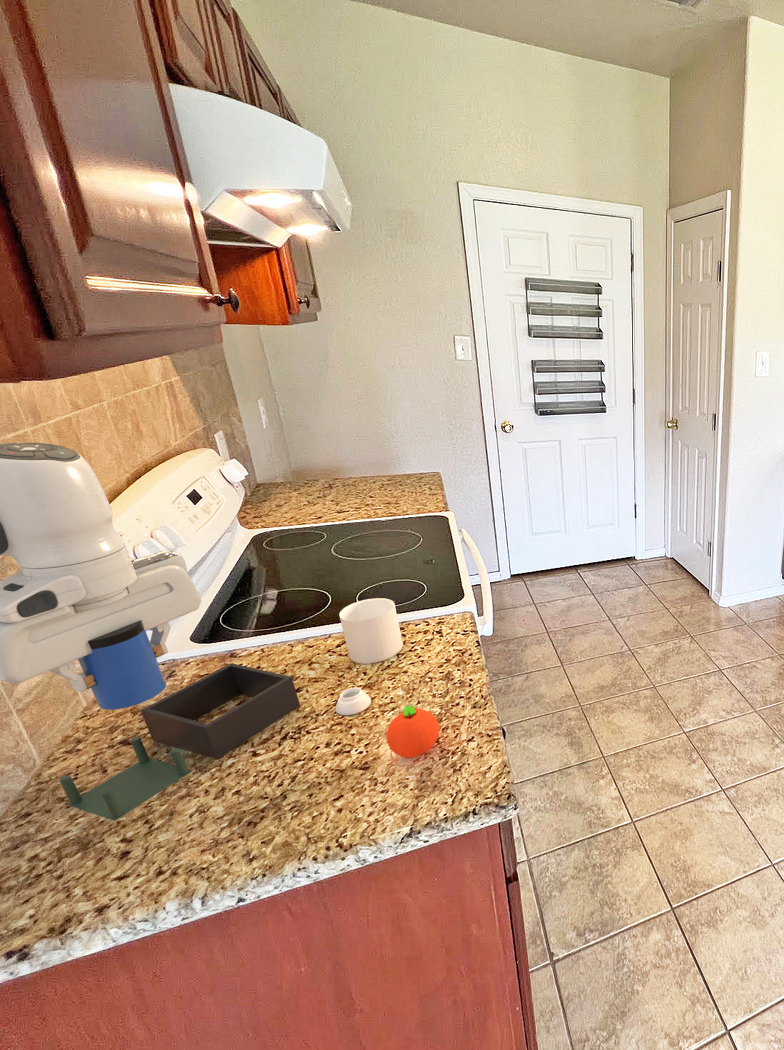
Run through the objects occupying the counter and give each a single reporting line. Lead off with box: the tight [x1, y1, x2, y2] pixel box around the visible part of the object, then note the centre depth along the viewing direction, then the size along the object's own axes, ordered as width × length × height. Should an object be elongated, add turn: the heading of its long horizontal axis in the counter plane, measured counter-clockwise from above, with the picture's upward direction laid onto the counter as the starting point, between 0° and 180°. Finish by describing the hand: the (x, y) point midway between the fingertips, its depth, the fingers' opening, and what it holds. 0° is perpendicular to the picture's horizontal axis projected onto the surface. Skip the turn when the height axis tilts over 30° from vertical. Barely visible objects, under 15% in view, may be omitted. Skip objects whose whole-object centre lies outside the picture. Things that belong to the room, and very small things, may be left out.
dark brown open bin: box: [139, 662, 301, 760], centre depth 89 cm, size 13×13×7 cm
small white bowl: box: [334, 687, 372, 716], centre depth 95 cm, size 5×3×5 cm
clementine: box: [386, 704, 440, 758], centre depth 85 cm, size 8×7×7 cm
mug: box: [338, 597, 404, 665], centre depth 110 cm, size 12×9×9 cm
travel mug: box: [77, 620, 167, 711], centre depth 74 cm, size 7×7×10 cm
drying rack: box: [58, 736, 194, 822], centre depth 77 cm, size 9×9×5 cm
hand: (123, 671), depth 75 cm, fingers closed on travel mug, 6 cm apart
